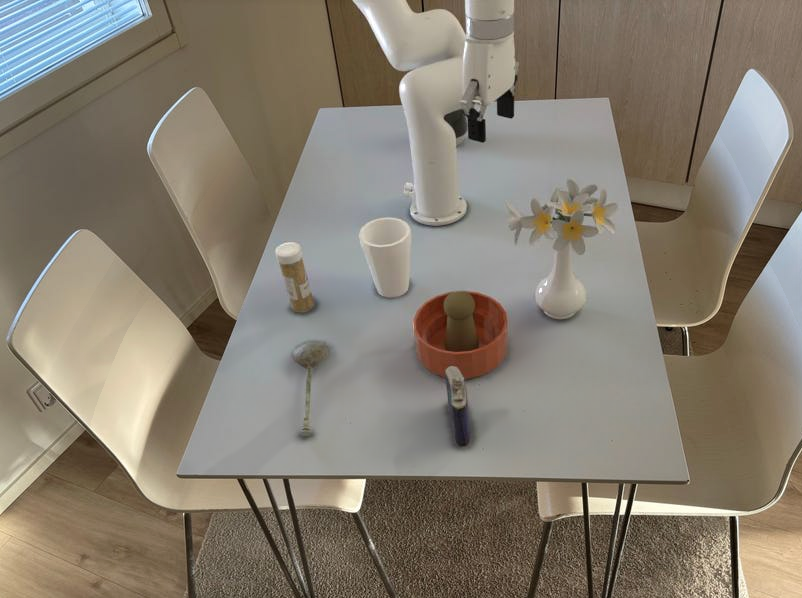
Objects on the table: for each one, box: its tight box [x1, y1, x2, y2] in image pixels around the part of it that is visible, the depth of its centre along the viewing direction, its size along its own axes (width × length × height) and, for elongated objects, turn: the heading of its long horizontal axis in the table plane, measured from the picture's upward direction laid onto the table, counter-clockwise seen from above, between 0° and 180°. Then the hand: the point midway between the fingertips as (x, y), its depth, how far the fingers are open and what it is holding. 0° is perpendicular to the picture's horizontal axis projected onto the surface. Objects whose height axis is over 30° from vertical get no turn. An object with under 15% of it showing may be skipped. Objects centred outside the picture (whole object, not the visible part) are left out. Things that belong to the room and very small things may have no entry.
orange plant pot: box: [412, 290, 509, 379], centre depth 120 cm, size 16×16×6 cm
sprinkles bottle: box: [275, 241, 315, 314], centre depth 129 cm, size 5×5×14 cm
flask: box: [444, 366, 472, 448], centre depth 106 cm, size 9×3×11 cm, turn 8°
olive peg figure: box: [444, 290, 479, 352], centre depth 118 cm, size 6×6×11 cm
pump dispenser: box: [443, 109, 468, 147], centre depth 171 cm, size 10×10×15 cm
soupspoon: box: [291, 341, 330, 437], centre depth 117 cm, size 22×3×7 cm
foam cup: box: [358, 216, 412, 299], centre depth 131 cm, size 10×9×13 cm
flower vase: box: [505, 178, 619, 320], centre depth 119 cm, size 13×18×25 cm
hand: (491, 128), depth 120 cm, fingers open, 9 cm apart
